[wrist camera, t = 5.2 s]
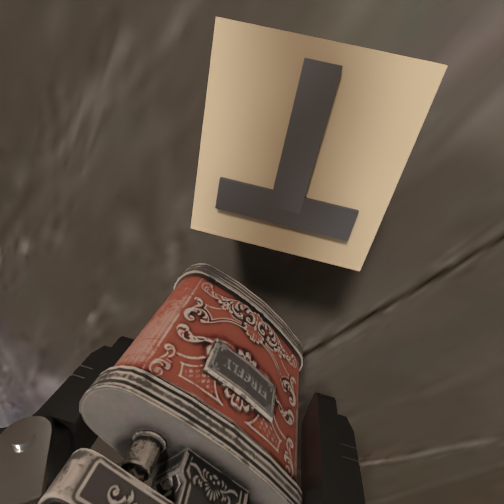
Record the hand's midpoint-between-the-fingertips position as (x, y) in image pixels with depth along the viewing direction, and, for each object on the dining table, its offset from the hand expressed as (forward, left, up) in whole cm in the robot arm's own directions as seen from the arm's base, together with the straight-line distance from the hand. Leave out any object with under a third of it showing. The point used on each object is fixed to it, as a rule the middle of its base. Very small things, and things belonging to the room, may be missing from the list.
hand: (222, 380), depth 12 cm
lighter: (0, 0, -4) cm, 4 cm away
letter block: (-1, -9, -7) cm, 11 cm away
